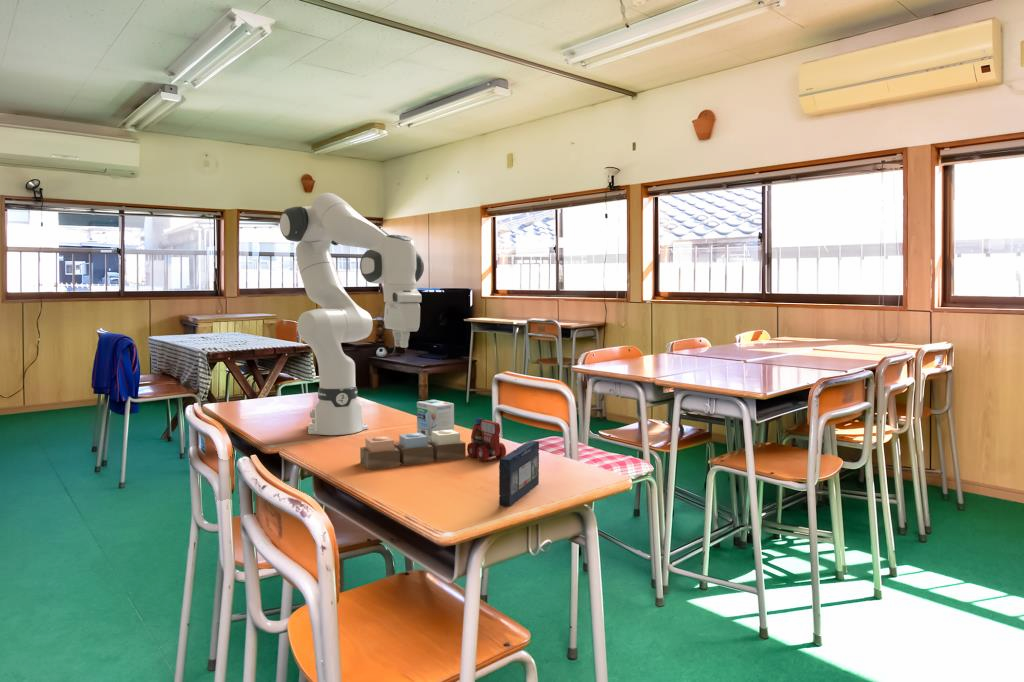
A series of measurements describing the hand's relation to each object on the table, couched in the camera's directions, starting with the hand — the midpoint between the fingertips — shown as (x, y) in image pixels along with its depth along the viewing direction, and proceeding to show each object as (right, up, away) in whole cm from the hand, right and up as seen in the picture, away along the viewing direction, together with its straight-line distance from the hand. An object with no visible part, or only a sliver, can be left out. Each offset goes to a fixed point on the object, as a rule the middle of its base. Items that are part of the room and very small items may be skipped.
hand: (401, 346), depth 185 cm
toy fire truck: (+23, -30, -3) cm, 38 cm away
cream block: (+12, -27, -2) cm, 29 cm away
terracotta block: (-4, -27, -10) cm, 30 cm away
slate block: (+4, -27, -6) cm, 28 cm away
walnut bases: (+4, -30, -6) cm, 30 cm away
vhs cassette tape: (+32, -32, -36) cm, 58 cm away
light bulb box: (+7, -28, +22) cm, 36 cm away
